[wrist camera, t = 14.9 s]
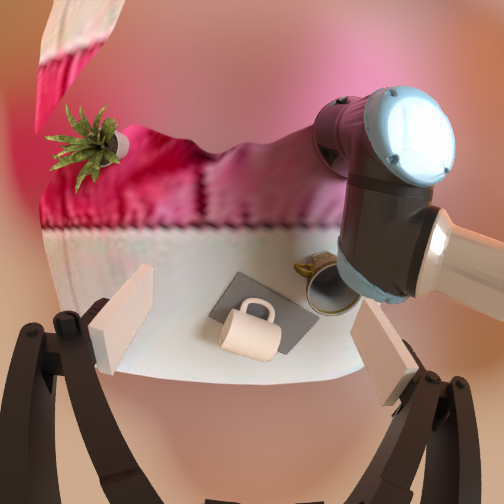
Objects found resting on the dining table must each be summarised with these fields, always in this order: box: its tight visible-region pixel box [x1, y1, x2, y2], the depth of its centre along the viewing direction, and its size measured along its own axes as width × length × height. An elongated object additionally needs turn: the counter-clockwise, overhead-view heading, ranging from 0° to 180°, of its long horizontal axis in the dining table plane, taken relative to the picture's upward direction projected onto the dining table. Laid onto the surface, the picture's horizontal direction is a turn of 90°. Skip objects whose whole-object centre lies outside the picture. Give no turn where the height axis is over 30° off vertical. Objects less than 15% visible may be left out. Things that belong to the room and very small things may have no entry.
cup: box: [219, 298, 281, 362], centre depth 53 cm, size 8×12×10 cm
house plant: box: [44, 104, 129, 194], centre depth 36 cm, size 14×14×16 cm
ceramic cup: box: [294, 251, 362, 316], centre depth 48 cm, size 13×10×10 cm
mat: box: [209, 272, 319, 354], centre depth 56 cm, size 20×12×1 cm, turn 57°
